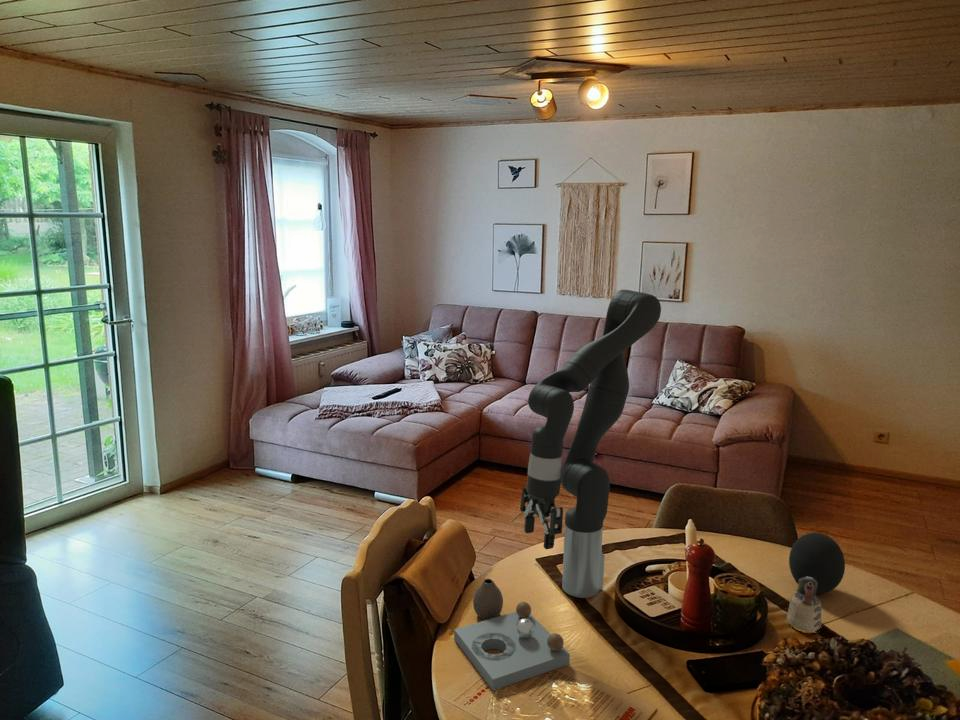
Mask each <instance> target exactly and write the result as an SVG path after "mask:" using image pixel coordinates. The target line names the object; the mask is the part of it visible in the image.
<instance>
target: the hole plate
mask: <svg viewBox="0 0 960 720" xmlns="http://www.w3.org/2000/svg"><path fill="white" fill-rule="evenodd" d="M521 619H524V618H521V617H520V616H518V614H517V612H516V611H512V612H509V613H506V614H503V615H498V616H497V617H495V618H492V619H488V620H482V621H478V622H474V623H471V624H467V625H464V626H461V627H458V628H454V629H453V640H454V641H455V643H456V644H457V645H458V646H459V648H460V649H461V651H462V652H463V653H464V654H465V656H466V658H467V659H468V660H469V662H471V664H472V665H473V667H474V669H476V670H477V672H478V673H479V675H480V676H481V677H482V679H483V680H484V681H485V682H486V685H488V687H489V688H490V689H491V690H492V691H495V690H494V689H496V690H498V689H497V688H499V689H501V687H502V688H504V687H508V686H511V685H513V683H514V684H516V683H519V682H523V681H525V680H527V679H531V678H533V677H537V676H539V675H542V674H545V673H548V672H551V671H554V670H557V669H559V668H564V667H566V666H568V665H570V660H571V659H570V658H571V654H570V652H569V651H568V650H567V649H566V648H565V647H564V646H563V647H562V648H561V649H560V650H559V651H553V650H551V649H550V648H549V647H548V644H547V640H548V637H549V636H550V635H551V634H552V633H550V632H549V631H548V630H547V628H545V627H544V625H542V624H541V623H540V622H539V621H538V620H537V619H536V618H535V617H534V616H533V615H532V614H530V615H529V616H528V617H526V619H529V620H531V621H532V623H533V624H534V633H533V635H532V636H531V637H529V638H526V639H525V638H521V637H520V636H518V634H517V632H516V624H517V622H518V621H519V620H521ZM489 650H498V651H501V652H500V653H495V654H494V653H488V652H486V651H489Z"/></svg>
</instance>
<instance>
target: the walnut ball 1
mask: <svg viewBox="0 0 960 720" xmlns="http://www.w3.org/2000/svg"><path fill="white" fill-rule="evenodd" d="M515 610H516V611H515V612H517V614H518V616H520V617H521V618H526V617H528V616H529V615H530V614H531V613H532V607H531V605H530V604H529V603H528V602H527V601H521V602H519V603H518V604H517V605H516V607H515ZM531 615H532V614H531Z"/></svg>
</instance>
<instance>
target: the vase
mask: <svg viewBox="0 0 960 720" xmlns="http://www.w3.org/2000/svg"><path fill="white" fill-rule="evenodd" d="M502 593H503V592H502V591H501V590H500V588H499V587H498V585H496V583H495V582H494V580H493V579H491V578H485V579H483V581H482V582H481V584H480V585H479V586H478V587H477V588H476V590H475V592H474V594H473V600H472V606H473V609H474V612H475V614H476V615H477V616H478V617H479V618H480V619H482V621H485V620H488V619H492V618H495V617H498V616H500V614H501V612H502V610H503V605H504V597H503V594H502Z"/></svg>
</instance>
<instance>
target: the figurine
mask: <svg viewBox="0 0 960 720" xmlns="http://www.w3.org/2000/svg"><path fill="white" fill-rule="evenodd" d="M817 586H818V583H817V581H816V580H815V579H814V578H812V577H804V578H801V579H799V584H798V583H797V589H796V592H795V593H793V594H791V597H790V601H789V604H788V609H787V613H786V622H787V621H788V623H789V624H791V625H792V626H793V627H795V628H797V629H801V630H805V631H817V630H819V629H820V628H821V629H822V623H823V622H822V608H823V606H822V603H821V600H820V598H819V597H817V594H816V590H817ZM788 623H787V624H788ZM789 624H788V625H789Z"/></svg>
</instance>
